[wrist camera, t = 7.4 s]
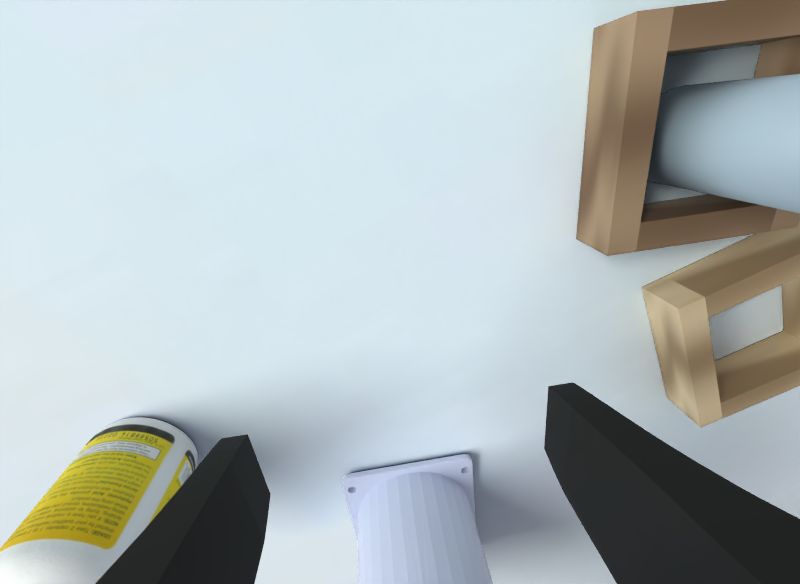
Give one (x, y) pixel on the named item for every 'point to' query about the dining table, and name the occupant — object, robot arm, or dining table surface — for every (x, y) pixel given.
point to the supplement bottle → (99, 504)
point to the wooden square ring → (637, 113)
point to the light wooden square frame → (711, 294)
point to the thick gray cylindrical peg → (732, 140)
